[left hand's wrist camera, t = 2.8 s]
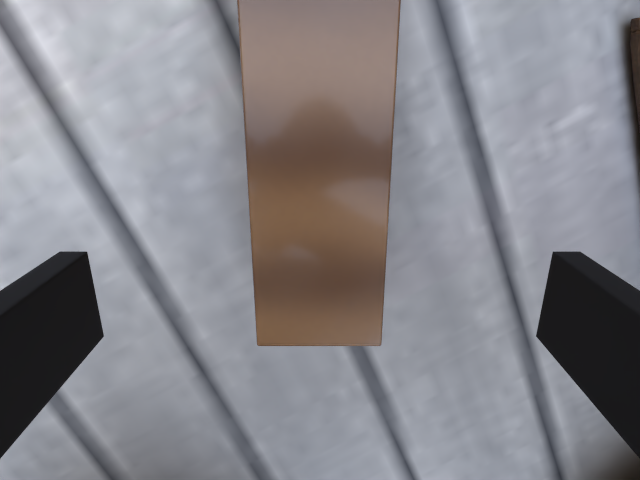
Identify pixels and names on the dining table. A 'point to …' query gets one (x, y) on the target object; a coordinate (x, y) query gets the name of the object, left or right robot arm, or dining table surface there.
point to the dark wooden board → (636, 61)
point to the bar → (319, 165)
